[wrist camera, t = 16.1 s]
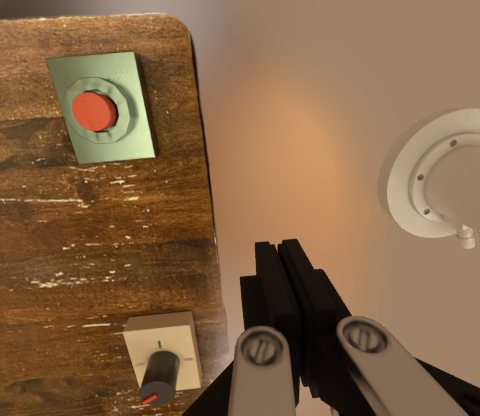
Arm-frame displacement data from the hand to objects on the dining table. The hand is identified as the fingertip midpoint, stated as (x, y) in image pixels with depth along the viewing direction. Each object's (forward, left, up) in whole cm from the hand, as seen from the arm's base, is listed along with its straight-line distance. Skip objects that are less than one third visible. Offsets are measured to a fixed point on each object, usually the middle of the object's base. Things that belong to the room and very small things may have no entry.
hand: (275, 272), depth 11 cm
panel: (-24, +24, -25) cm, 42 cm away
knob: (-24, +24, -22) cm, 41 cm away
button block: (+11, +11, -25) cm, 30 cm away
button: (+11, +11, -21) cm, 27 cm away
